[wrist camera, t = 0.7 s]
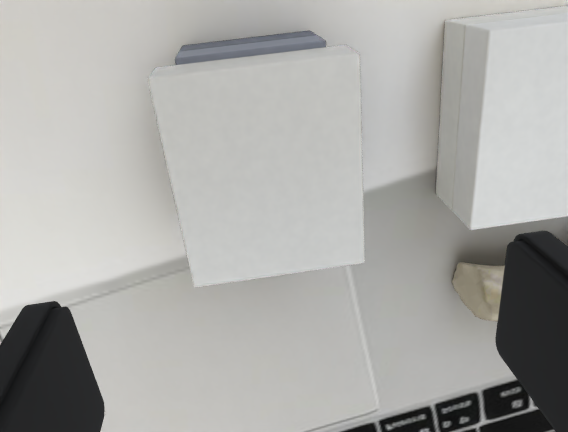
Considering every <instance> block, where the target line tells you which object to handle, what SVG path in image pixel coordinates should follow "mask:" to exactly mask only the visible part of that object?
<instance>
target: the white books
mask: <svg viewBox="0 0 568 432" xmlns="http://www.w3.org/2000/svg"><path fill="white" fill-rule="evenodd" d="M436 195H437V196H438V197H439V198H440V199H441V200H442V201H443V202H444V203H445V204H446V206H447V207H448V208H449V209H450V210H451V211H453V212H454V213H455V214H456V215H457V216H458V218H459V219H460V220H461V221H462V222H463V223H464V224H465V225H466V226H467V227H468V228H469V229H470V230H476V229H483V228H490V227H497V226H504V225H511V224H518V223H525V222H532V221H539V220H546V219H553V218H560V217H567V216H568V6H560V7H551V8H543V9H535V10H526V11H518V12H509V13H501V14H492V15H484V16H475V17H467V18H458V19H450V20H445V30H444V49H443V67H442V86H441V105H440V123H439V142H438V160H437V179H436Z"/></svg>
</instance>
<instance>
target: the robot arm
mask: <svg viewBox="0 0 568 432" xmlns="http://www.w3.org/2000/svg"><path fill="white" fill-rule="evenodd" d="M496 347H497V350H498V352H499V354H500V356H501V357H502V359H503V360H504V362H505V363H506V364H507V366H508V367H509V368H510V370H511V371H512V372H513V374H514V375H515V377H516V378H517V379H518V381H519V382H520V383H521V385H522V386H523V387H524V389H525V390H526V392H527V393H528V394H529V396H530V397H531V398H532V400H533V401H534V402H535V404H536V405H537V407H538V408H539V409H540V411H541V412H542V413H543V415H544V416H545V417H546V419H547V420H548V422H549V423H550V424H551V426H552V427H553V428H554V430H555V431H556V432H568V246H566V245H565V244H564V243H562V242H561V241H560V240H559V239H557V238H556V237H555V236H553V235H552V234H551V233H549V232H547V231H538V232H531V233H524V234H519V235H517V236H516V237H515V239H514V242H511V243H509V244H508V246H507V251H506V259H505V267H504V275H503V283H502V291H501V299H500V307H499V315H498V323H497V331H496ZM103 419H104V402H103V398H102V396H101V393H100V390H99V387H98V385H97V382H96V379H95V377H94V374H93V371H92V368H91V366H90V363H89V360H88V358H87V355H86V352H85V349H84V347H83V344H82V341H81V339H80V336H79V333H78V330H77V328H76V325H75V322H74V320H73V317H72V314H71V312H70V310H69V309H68V307H61V306H60V304H59V303H58V302H55V301H53V302H46V303H39V304H32V305H27V306H25V307H24V308H23V309H22V310H21V312H20V314H19V315H18V317H17V319H16V320H15V322H14V323H13V325H12V327H11V328H10V330H9V332H8V333H7V335H6V336H5V338H4V340H3V341H2V343H1V345H0V432H100V430H101V426H102V423H103Z"/></svg>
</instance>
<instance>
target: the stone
mask: <svg viewBox="0 0 568 432" xmlns="http://www.w3.org/2000/svg"><path fill="white" fill-rule="evenodd" d="M504 267H505V265H503V266H488V265H479V264H471V263H464V262H459V263H458V264H457V268H456V269H457V270H456V271H455V273H454V278H453V280H452V283H453V285H454V289H455V291H456V292H457V293H458V294H459V296H460V298H461V299H462V301H463V303H464V304H465V305H466V306H467V307H468V308H469V309H470V310H471V311H472V313H473V314H474V315H475V316H476V317H478V318H480V319H484V320H490V321H498V315H499V307H500V299H501V291H502V283H503V275H504Z"/></svg>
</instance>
